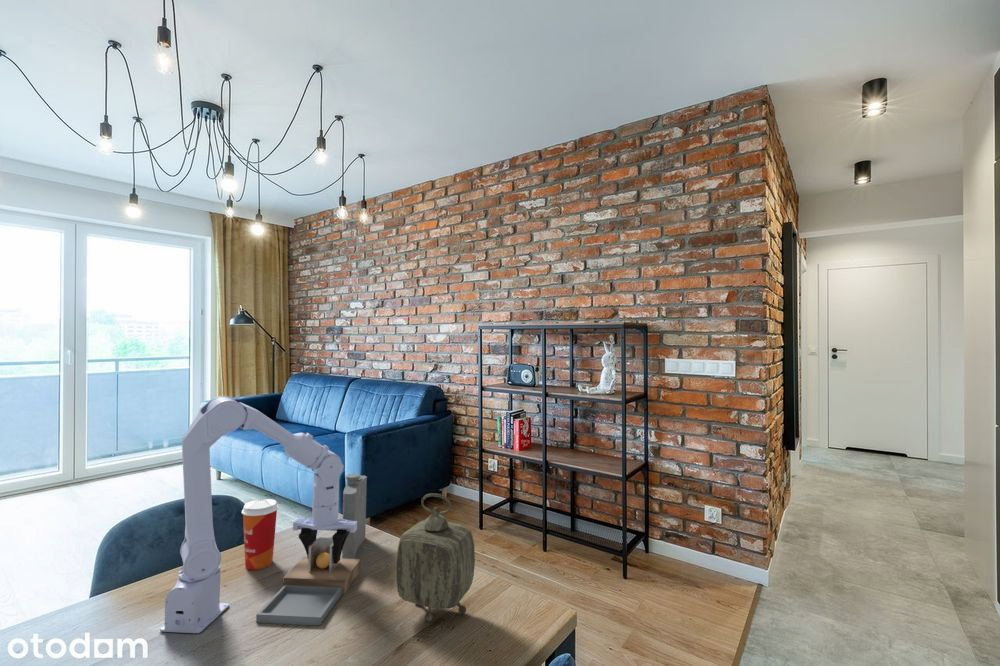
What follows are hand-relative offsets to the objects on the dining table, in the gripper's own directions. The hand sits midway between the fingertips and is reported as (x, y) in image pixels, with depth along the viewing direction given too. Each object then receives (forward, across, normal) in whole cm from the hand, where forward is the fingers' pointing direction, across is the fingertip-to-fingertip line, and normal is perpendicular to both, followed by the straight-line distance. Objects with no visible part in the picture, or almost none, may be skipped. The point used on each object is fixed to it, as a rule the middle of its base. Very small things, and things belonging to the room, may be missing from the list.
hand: (324, 561), depth 111 cm
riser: (+4, 0, 0) cm, 4 cm away
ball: (0, 0, 0) cm, 0 cm away
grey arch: (+1, 0, 0) cm, 1 cm away
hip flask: (+5, -1, -16) cm, 17 cm away
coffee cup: (+5, +19, -6) cm, 20 cm away
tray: (+4, 0, +11) cm, 12 cm away
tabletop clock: (+5, -28, +12) cm, 31 cm away
